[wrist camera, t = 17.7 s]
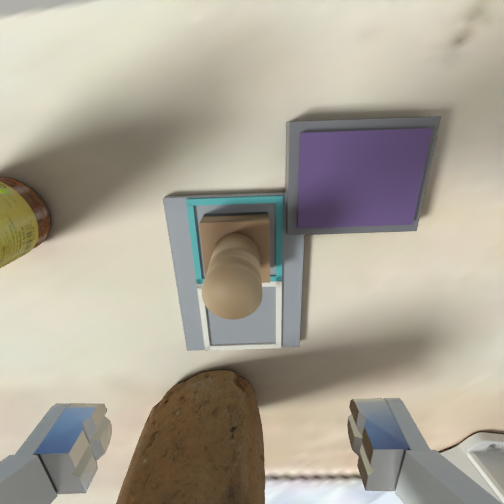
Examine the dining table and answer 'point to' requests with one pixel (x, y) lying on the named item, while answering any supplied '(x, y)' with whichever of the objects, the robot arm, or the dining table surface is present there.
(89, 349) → the dining table surface
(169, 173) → the dining table surface
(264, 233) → the stamp
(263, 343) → the board
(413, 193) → the ink pad
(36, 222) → the sauce bottle
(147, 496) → the block
